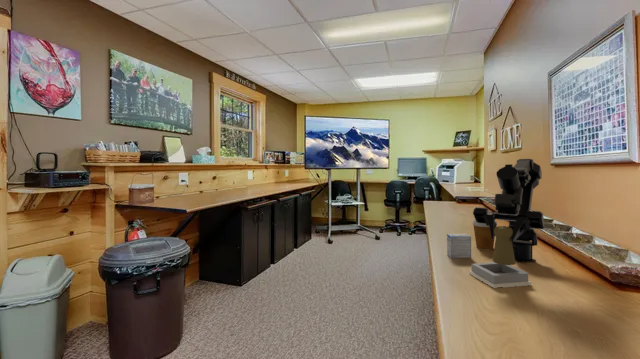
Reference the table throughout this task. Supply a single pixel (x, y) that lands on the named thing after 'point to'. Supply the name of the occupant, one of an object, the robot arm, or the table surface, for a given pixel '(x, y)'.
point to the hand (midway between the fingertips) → (502, 240)
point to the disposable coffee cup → (483, 236)
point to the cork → (503, 246)
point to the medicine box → (459, 245)
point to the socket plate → (499, 275)
